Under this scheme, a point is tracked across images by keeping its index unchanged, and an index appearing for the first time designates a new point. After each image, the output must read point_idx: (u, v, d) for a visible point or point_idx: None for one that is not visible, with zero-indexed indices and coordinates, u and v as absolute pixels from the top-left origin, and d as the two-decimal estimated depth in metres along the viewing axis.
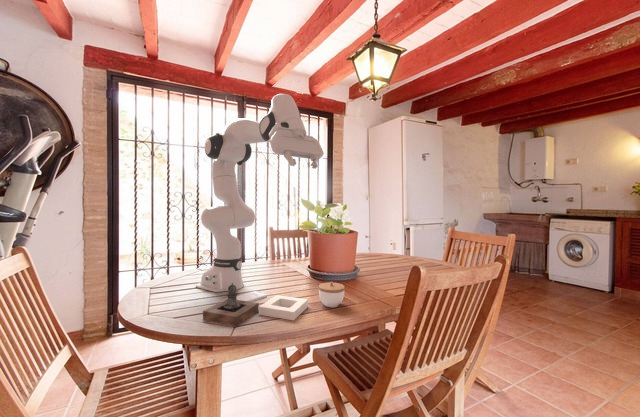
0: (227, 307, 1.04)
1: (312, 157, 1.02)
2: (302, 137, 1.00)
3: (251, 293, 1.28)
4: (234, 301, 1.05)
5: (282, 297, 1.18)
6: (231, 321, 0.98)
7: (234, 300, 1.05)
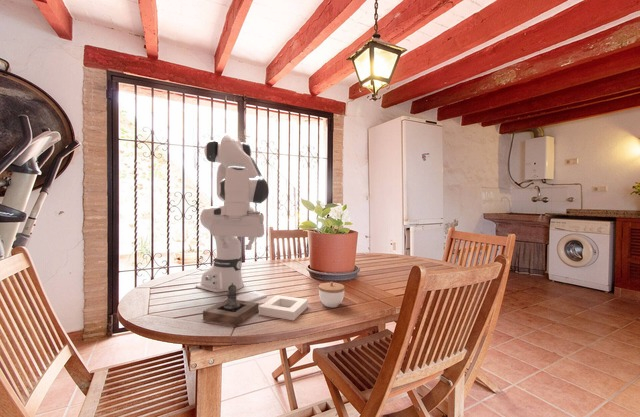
0: (227, 307, 1.04)
1: None
2: (237, 220, 1.02)
3: (251, 293, 1.28)
4: (234, 301, 1.05)
5: (282, 297, 1.18)
6: (231, 321, 0.98)
7: (234, 300, 1.05)
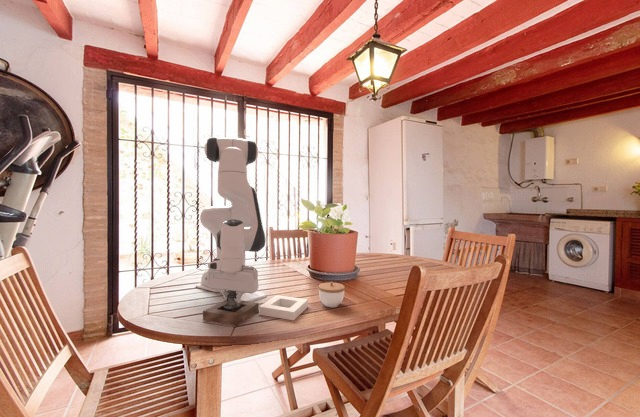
0: (227, 307, 1.04)
1: None
2: None
3: (251, 293, 1.28)
4: None
5: (282, 297, 1.18)
6: (231, 321, 0.98)
7: (234, 300, 1.05)
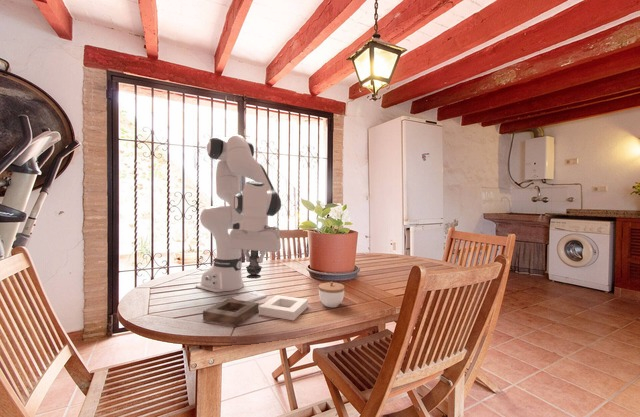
0: (249, 268, 1.05)
1: None
2: (254, 235, 1.05)
3: (251, 293, 1.28)
4: (256, 262, 1.07)
5: (282, 297, 1.18)
6: (231, 321, 0.98)
7: (256, 261, 1.07)
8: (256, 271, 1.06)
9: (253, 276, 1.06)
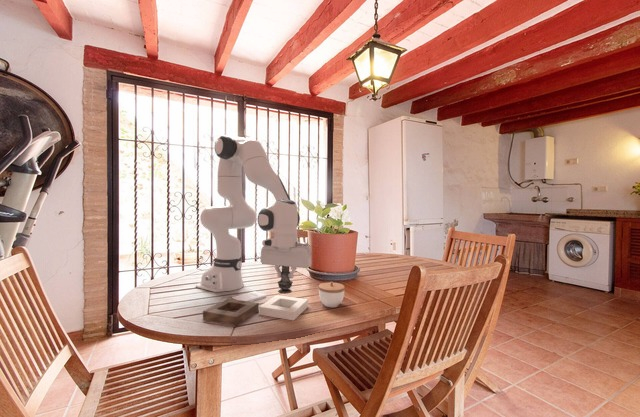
0: (282, 283, 1.09)
1: None
2: None
3: (251, 293, 1.28)
4: (288, 278, 1.10)
5: (282, 297, 1.18)
6: (231, 321, 0.98)
7: None
8: (288, 286, 1.09)
9: (285, 291, 1.09)
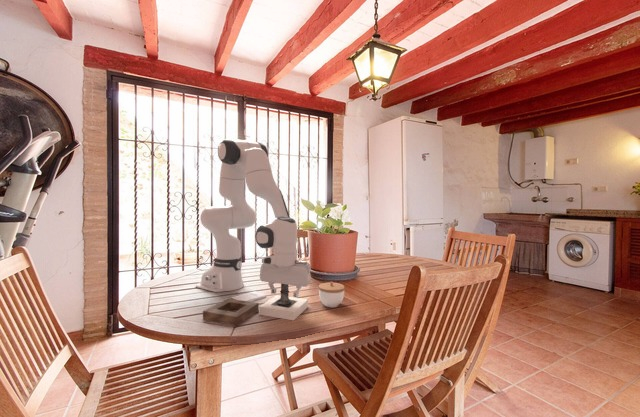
0: (281, 303, 1.09)
1: None
2: (285, 269, 1.09)
3: (250, 293, 1.28)
4: (287, 297, 1.11)
5: None
6: (231, 321, 0.98)
7: (287, 296, 1.11)
8: (287, 306, 1.10)
9: None
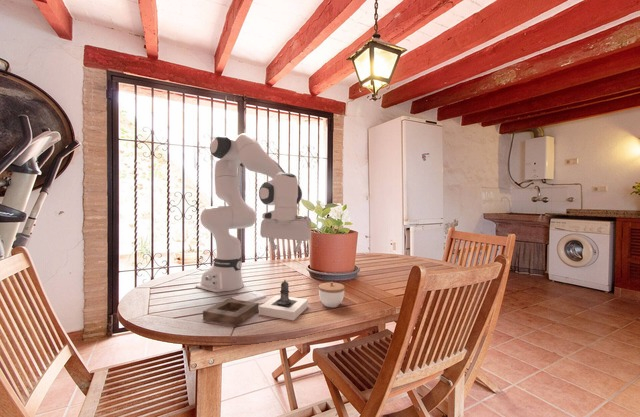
0: (281, 303, 1.09)
1: None
2: (286, 224, 1.09)
3: (250, 293, 1.28)
4: (287, 297, 1.11)
5: None
6: (231, 321, 0.98)
7: (287, 296, 1.11)
8: (287, 306, 1.10)
9: None
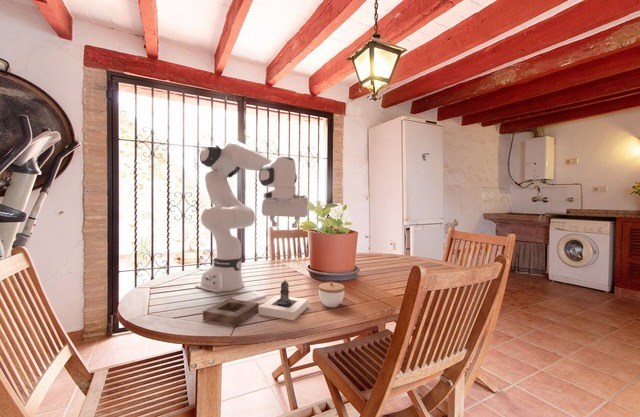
0: (281, 303, 1.09)
1: None
2: (285, 202, 1.20)
3: (250, 293, 1.28)
4: (287, 297, 1.11)
5: None
6: (231, 321, 0.98)
7: (287, 296, 1.11)
8: (287, 306, 1.10)
9: None
